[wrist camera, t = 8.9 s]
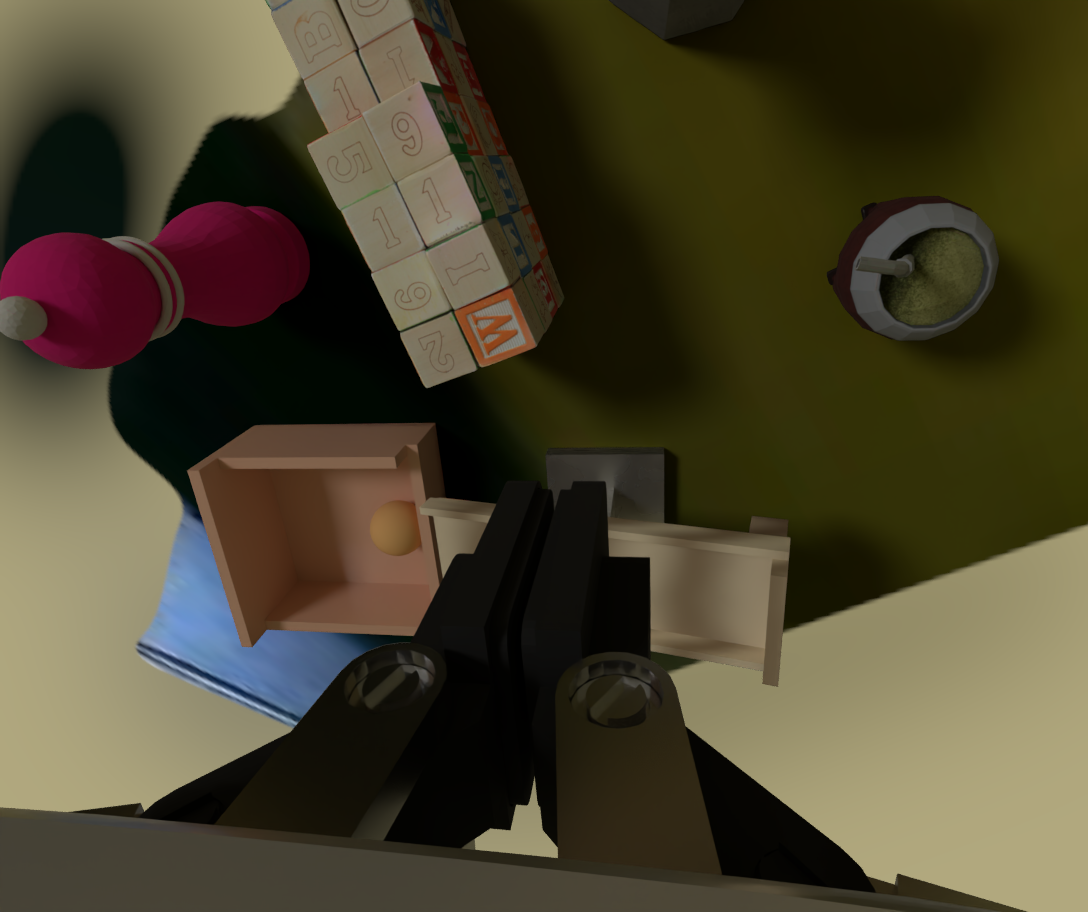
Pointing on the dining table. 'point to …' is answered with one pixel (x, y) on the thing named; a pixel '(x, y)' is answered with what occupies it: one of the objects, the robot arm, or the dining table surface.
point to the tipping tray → (680, 581)
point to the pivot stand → (614, 477)
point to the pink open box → (320, 526)
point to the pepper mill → (150, 283)
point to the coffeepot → (679, 14)
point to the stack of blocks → (423, 179)
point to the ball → (396, 528)
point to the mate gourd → (915, 267)
